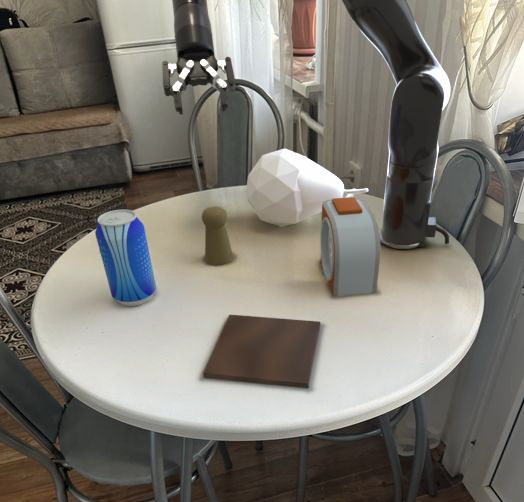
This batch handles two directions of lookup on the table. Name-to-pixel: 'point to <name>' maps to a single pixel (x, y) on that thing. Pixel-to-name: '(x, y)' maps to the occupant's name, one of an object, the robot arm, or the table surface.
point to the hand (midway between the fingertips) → (202, 110)
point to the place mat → (265, 351)
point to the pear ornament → (291, 188)
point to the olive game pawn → (216, 236)
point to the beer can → (125, 257)
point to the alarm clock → (349, 246)
